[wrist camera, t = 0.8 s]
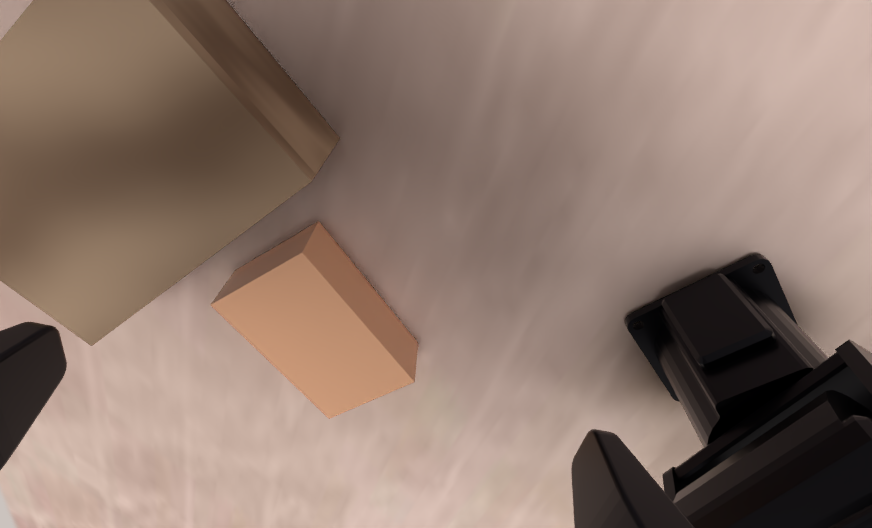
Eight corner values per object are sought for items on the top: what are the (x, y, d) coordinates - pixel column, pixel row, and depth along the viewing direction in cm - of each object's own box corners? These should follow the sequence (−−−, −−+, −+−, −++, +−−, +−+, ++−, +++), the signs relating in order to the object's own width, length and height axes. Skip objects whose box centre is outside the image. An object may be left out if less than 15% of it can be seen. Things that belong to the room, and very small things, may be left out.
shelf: (340, 138, 19) (311, 181, 15) (151, 282, 23) (91, 346, 19) (176, -60, 16) (88, -68, 12) (-11, 148, 20) (-123, 192, 16)
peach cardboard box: (418, 339, 25) (414, 381, 22) (340, 374, 26) (328, 418, 24) (320, 218, 21) (302, 252, 19) (237, 267, 23) (210, 305, 20)
